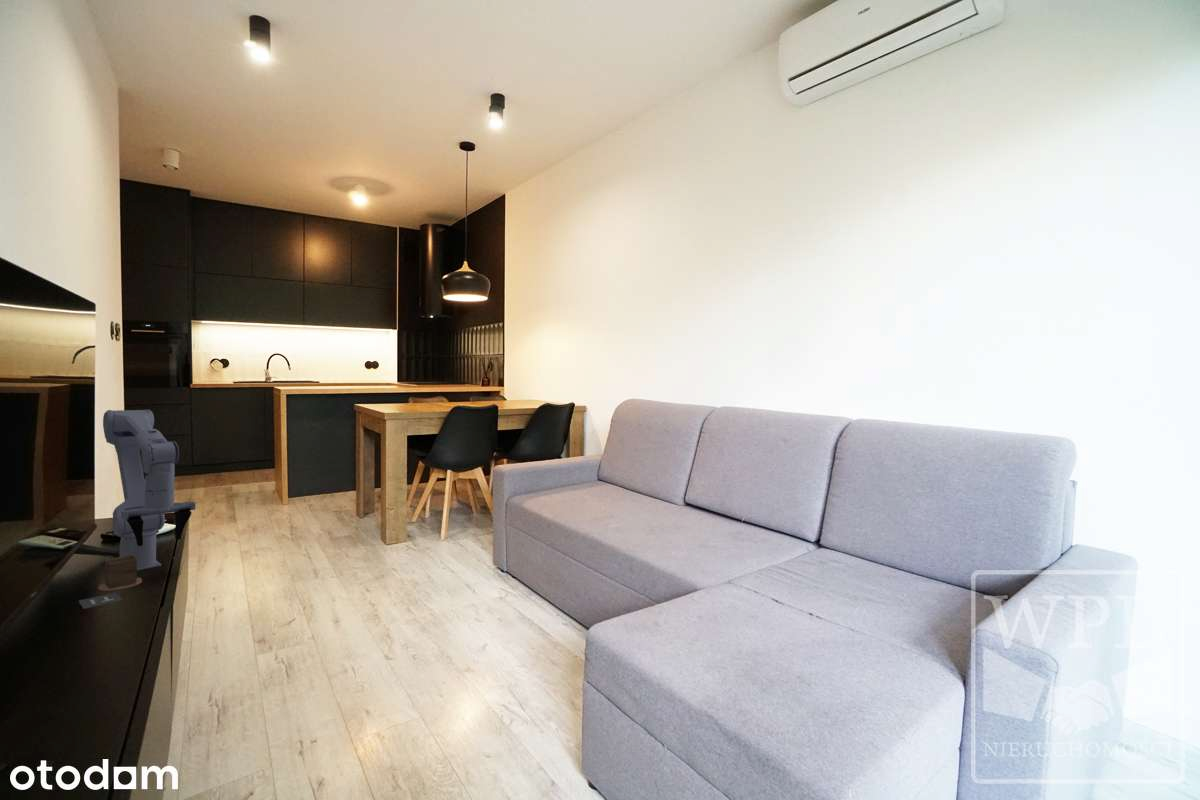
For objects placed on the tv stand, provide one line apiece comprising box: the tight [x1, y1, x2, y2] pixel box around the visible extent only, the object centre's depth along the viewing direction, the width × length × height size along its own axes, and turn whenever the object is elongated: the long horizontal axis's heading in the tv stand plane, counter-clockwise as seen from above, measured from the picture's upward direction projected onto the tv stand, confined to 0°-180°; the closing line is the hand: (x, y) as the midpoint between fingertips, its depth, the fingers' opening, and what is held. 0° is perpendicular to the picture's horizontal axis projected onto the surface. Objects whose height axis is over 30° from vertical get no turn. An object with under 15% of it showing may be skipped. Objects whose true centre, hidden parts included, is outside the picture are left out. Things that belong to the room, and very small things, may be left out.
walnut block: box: [104, 555, 138, 589], centre depth 129 cm, size 5×5×6 cm
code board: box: [78, 591, 123, 610], centre depth 120 cm, size 8×8×1 cm
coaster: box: [98, 577, 143, 592], centre depth 129 cm, size 8×8×1 cm
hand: (159, 541), depth 133 cm, fingers open, 7 cm apart
